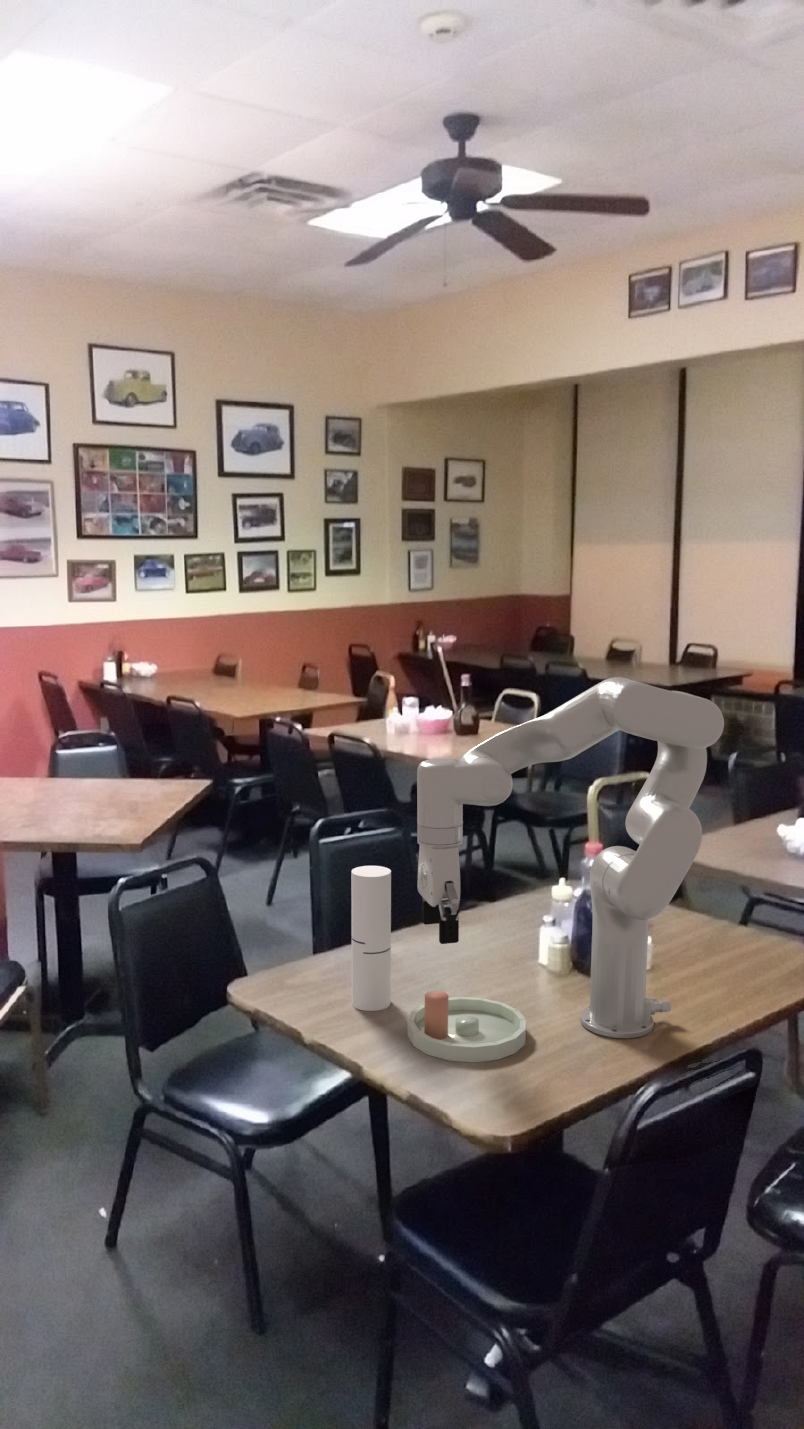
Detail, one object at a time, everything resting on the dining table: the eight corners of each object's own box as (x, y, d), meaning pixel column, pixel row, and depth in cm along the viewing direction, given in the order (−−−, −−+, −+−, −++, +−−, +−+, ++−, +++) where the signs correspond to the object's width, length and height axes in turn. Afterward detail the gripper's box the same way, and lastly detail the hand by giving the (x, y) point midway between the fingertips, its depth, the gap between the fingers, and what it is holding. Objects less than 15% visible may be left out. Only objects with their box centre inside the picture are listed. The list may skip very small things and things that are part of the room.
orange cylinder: (421, 1031, 183) (422, 992, 182) (444, 1028, 184) (444, 990, 183) (427, 1041, 179) (428, 1001, 178) (450, 1038, 180) (451, 999, 179)
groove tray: (502, 1005, 195) (502, 992, 195) (543, 1054, 176) (543, 1039, 176) (396, 1016, 190) (396, 1002, 190) (426, 1067, 171) (426, 1052, 171)
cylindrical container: (365, 992, 201) (365, 863, 198) (397, 1000, 197) (398, 869, 194) (344, 1005, 195) (343, 872, 191) (377, 1014, 191) (377, 879, 188)
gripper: (404, 823, 184) (405, 918, 187) (433, 848, 168) (433, 953, 170) (446, 820, 186) (446, 914, 189) (478, 845, 170) (478, 948, 172)
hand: (440, 932), depth 180 cm, fingers open, 9 cm apart
